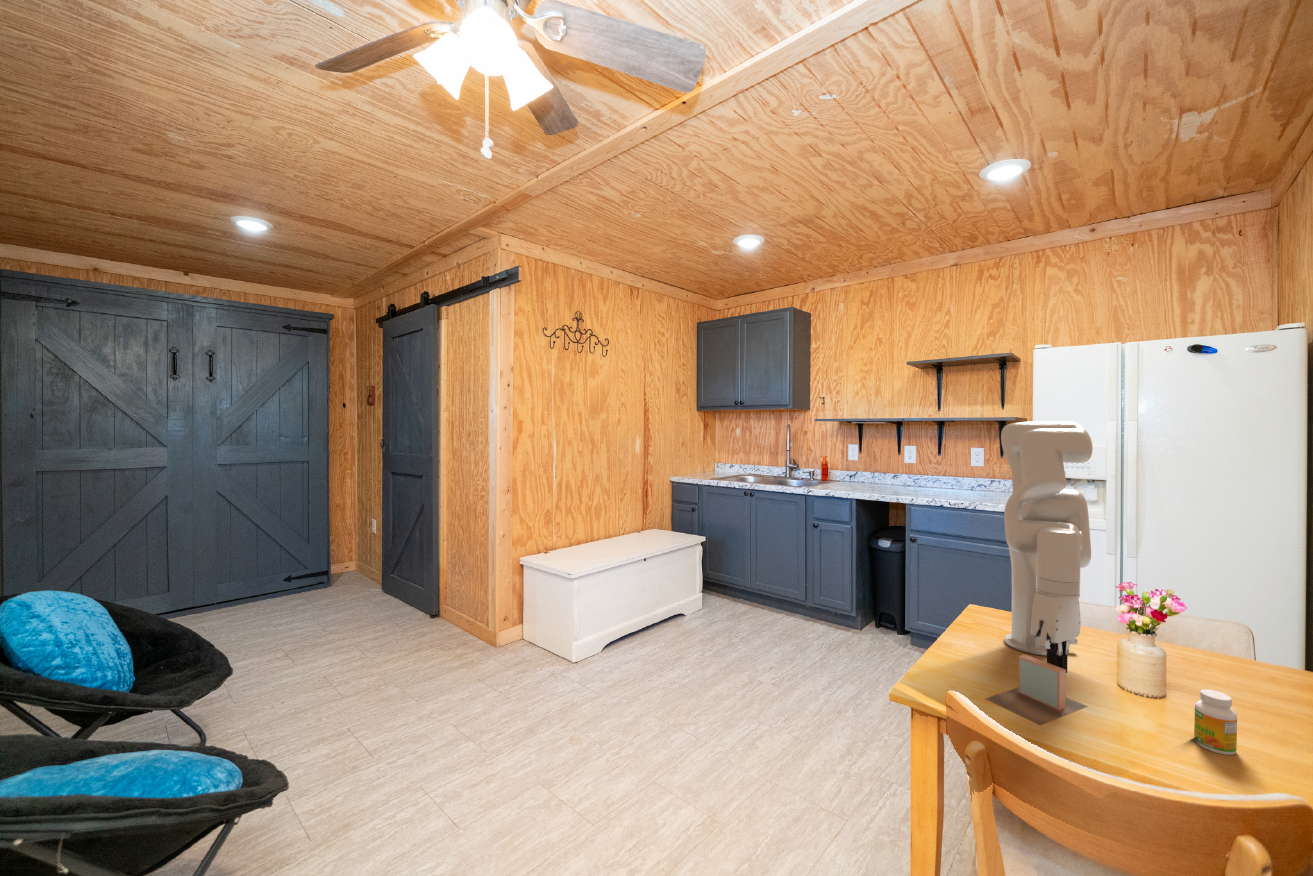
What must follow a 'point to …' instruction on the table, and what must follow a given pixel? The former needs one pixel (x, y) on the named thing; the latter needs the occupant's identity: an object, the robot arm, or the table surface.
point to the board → (1033, 706)
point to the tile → (1042, 681)
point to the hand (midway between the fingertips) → (1056, 671)
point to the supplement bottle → (1215, 723)
